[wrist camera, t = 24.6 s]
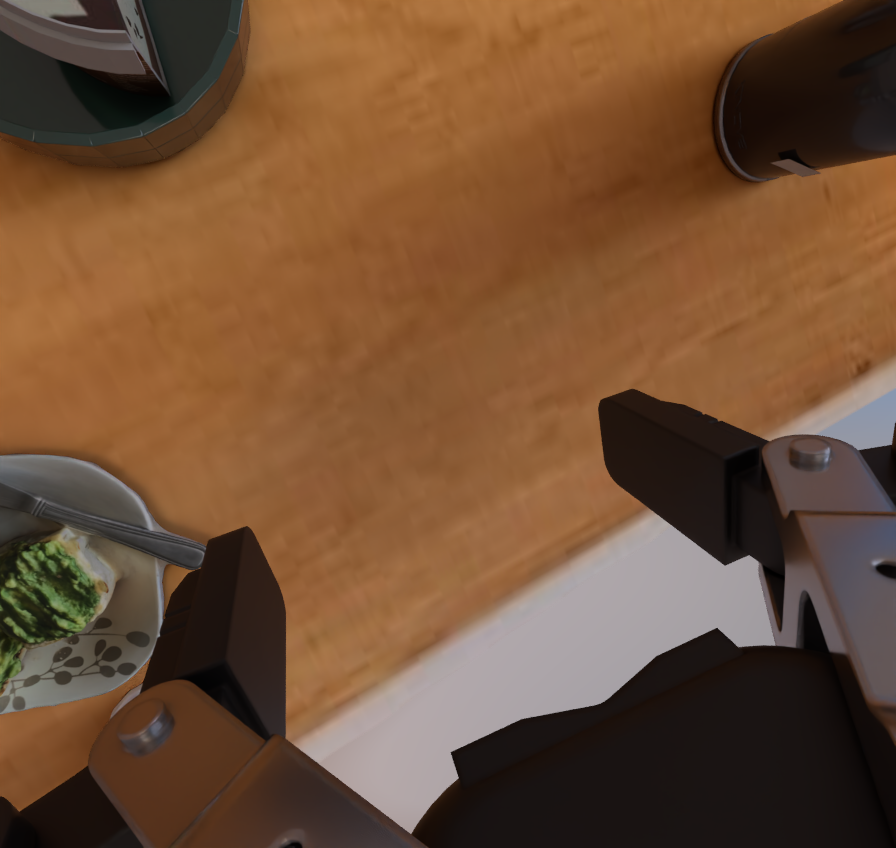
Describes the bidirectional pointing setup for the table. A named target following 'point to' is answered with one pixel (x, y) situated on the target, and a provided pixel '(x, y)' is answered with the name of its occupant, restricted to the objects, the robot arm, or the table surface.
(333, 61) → the table surface
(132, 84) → the food container
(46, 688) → the salad plate
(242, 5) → the bowl
